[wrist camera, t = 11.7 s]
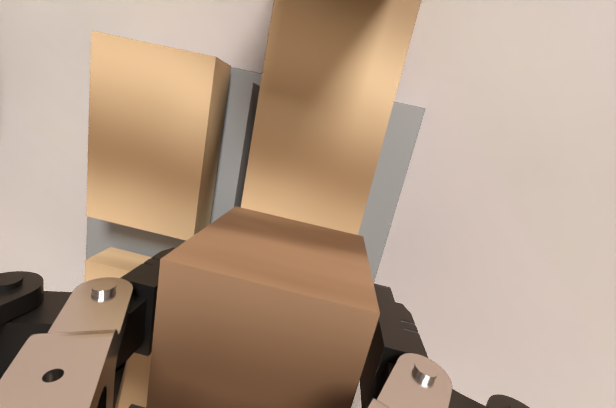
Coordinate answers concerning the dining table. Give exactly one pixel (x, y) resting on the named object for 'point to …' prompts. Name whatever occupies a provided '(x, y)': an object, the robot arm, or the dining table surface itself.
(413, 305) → the dining table surface
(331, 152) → the strip
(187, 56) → the light wood block
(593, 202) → the dining table surface
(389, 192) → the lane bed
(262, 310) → the walnut block
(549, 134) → the dining table surface
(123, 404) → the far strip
